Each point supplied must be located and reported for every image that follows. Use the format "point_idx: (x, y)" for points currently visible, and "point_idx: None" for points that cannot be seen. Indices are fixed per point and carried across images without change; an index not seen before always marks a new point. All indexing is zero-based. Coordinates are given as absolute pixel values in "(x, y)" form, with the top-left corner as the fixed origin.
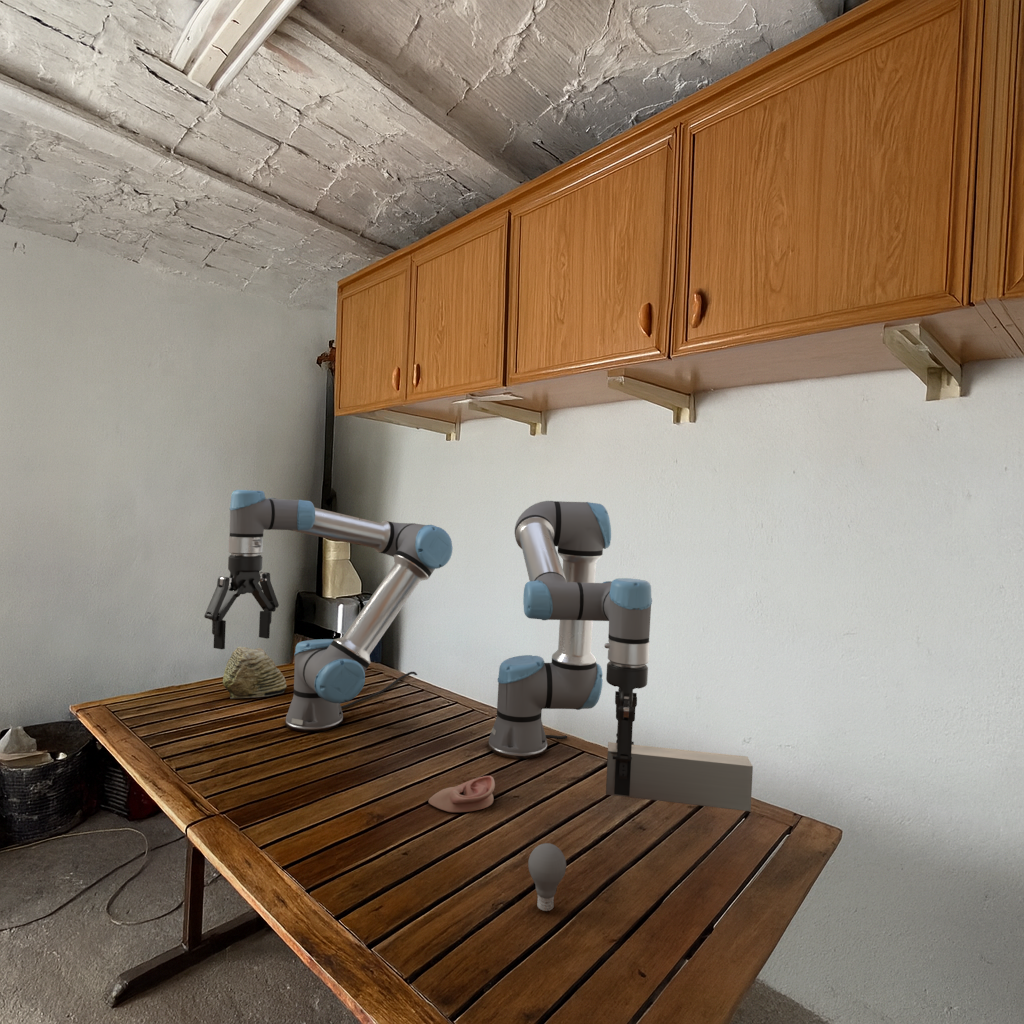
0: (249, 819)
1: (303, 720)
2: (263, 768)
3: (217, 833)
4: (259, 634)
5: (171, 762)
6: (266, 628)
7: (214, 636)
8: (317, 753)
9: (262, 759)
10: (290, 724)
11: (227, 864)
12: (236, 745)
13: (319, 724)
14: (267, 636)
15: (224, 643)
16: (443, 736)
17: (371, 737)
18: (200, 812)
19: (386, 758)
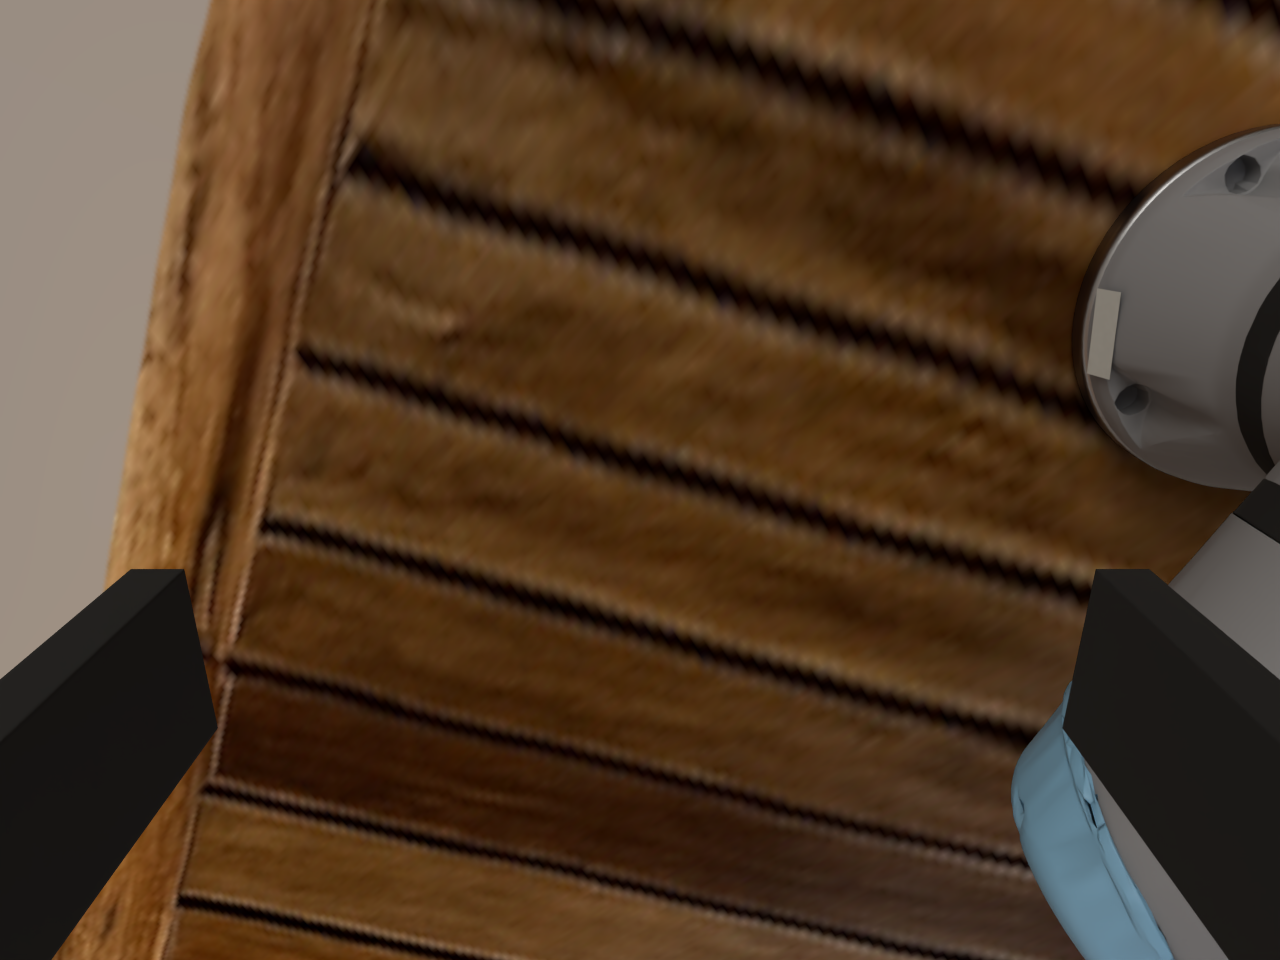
0: (264, 769)
1: (1118, 371)
2: (597, 518)
3: None
4: (1121, 602)
5: (391, 46)
6: (1154, 834)
7: (9, 688)
8: (852, 606)
9: (673, 441)
10: (1100, 273)
11: None
12: (751, 174)
13: (1133, 450)
14: (1082, 752)
15: (165, 787)
16: None
17: None
18: None
19: (930, 857)
